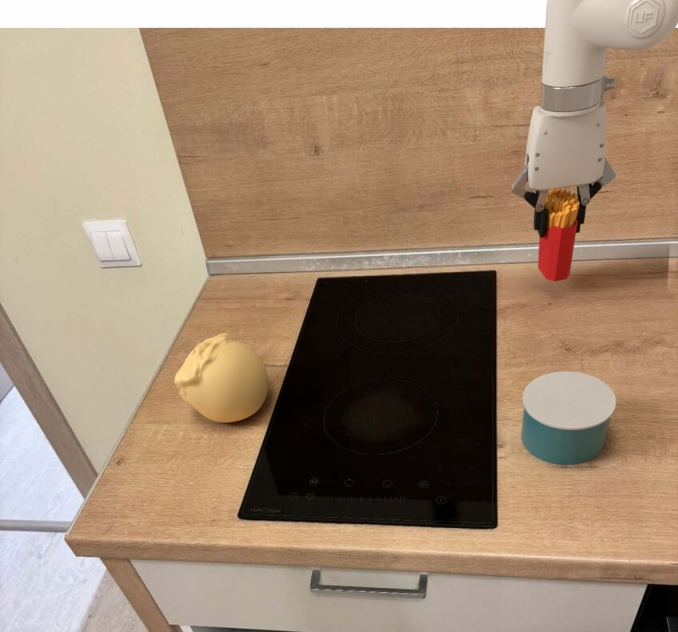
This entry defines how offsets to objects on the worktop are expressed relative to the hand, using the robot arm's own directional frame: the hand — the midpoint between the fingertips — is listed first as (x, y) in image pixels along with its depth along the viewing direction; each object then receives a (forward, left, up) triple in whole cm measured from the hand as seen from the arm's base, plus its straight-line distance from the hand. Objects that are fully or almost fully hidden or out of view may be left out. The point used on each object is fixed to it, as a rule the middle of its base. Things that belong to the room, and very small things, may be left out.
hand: (557, 230), depth 93 cm
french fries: (0, 0, -7) cm, 7 cm away
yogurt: (+6, +36, -10) cm, 38 cm away
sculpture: (+50, +23, -10) cm, 55 cm away
